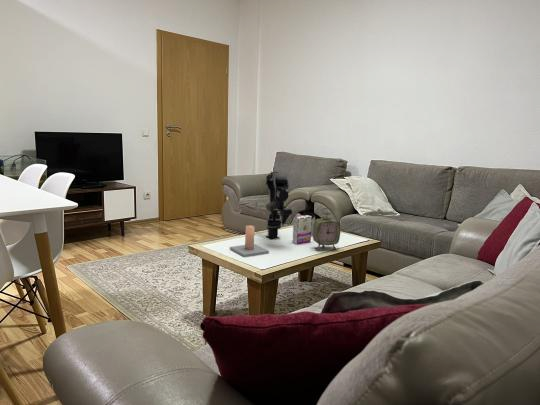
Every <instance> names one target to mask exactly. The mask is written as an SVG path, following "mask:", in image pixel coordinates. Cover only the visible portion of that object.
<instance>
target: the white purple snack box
mask: <svg viewBox="0 0 540 405" xmlns="http://www.w3.org/2000/svg"><path fill="white" fill-rule="evenodd" d="M297 215H298V216H305V215H308V216H312V224H311V238H313V224H314V221H315V220H316V213H315V212H314V211H303V215H301V214H300V213H295V215H294V216H297Z"/></svg>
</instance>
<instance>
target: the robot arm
mask: <svg viewBox="0 0 540 405" xmlns="http://www.w3.org/2000/svg"><path fill="white" fill-rule="evenodd" d="M264 184H265V188H266V190H267V191H268V196H269V197H268V198H269V200H268V203H267V204H265V208H266V210H267V211H268V212H269V215H268V216H267V219H266V222H265V228H266V229H267V235H266V236H265V237H266V238H267V239H269V240H275V239H280V236H279V235H278V234H279V232H278V231H279V230H281V228H282V226H285V224H286V222H287V220H288V219H289V216H291V215H292V214H293V210H292V209H291V208H288V207H287V206H285V202H287V200H288V198H289V196H290V195H289V193H288V191H287V190H289V187H290V185H289V180H288V178H287V176H284V175H281V174H280V172H278V171H271V172H269V174H268V175H266V177H265V180H264ZM278 212H280V213H278ZM280 217H281V218H280ZM281 225H282V226H281Z"/></svg>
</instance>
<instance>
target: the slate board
mask: <svg viewBox="0 0 540 405" xmlns="http://www.w3.org/2000/svg"><path fill="white" fill-rule="evenodd" d="M229 250H230V251H232V252H234V253H235V254H237V255H239V256H241V257H243V258H248V257H255V256H261V255H267V254H270V251H269V250H268V249H266V248H264V247H262V246H259V245H257V244H256V243H254V249H253V250H246V249H245V244H241V245H234V246H233V245H232V246H229Z"/></svg>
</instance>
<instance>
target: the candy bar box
mask: <svg viewBox="0 0 540 405" xmlns="http://www.w3.org/2000/svg"><path fill="white" fill-rule="evenodd" d="M292 220H293V222H292V223H293V224H292V243H293V244H295V245H302V244H307V243H311V240H312V237H311V224H312V216H308V215H305V216H303V215H301V216H300V215H298V216H293V219H292Z"/></svg>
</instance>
